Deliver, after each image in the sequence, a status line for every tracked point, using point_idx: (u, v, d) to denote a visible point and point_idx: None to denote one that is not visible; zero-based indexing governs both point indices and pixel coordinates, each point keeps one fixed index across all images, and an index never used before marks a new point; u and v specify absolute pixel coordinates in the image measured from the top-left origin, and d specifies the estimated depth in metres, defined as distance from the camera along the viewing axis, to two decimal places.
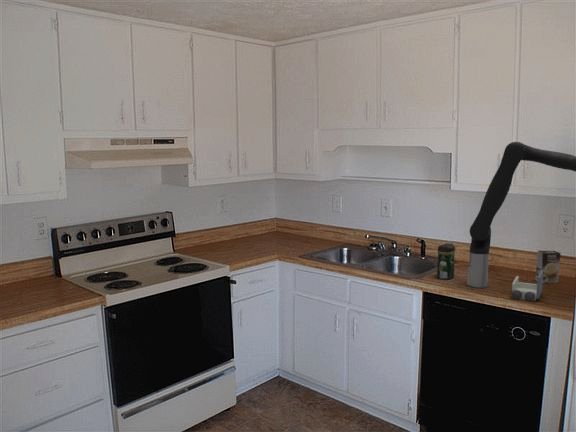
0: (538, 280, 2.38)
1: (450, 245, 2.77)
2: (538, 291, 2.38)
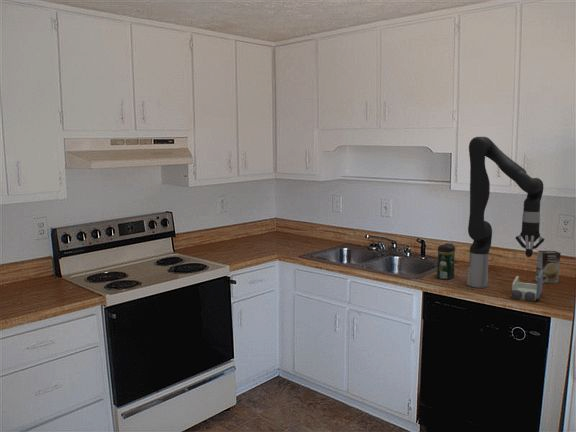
0: (538, 280, 2.38)
1: (450, 245, 2.77)
2: (538, 291, 2.38)
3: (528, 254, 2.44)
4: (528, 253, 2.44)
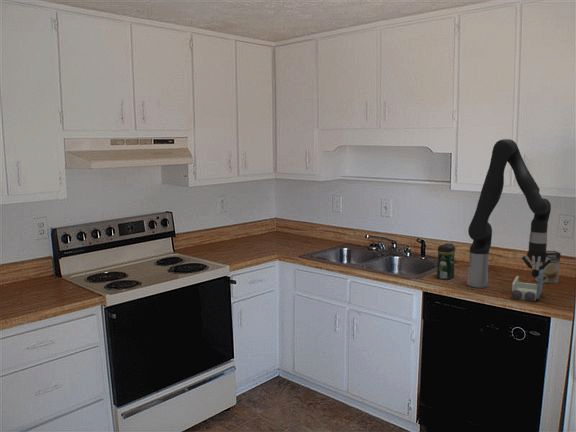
0: (538, 280, 2.37)
1: (450, 245, 2.77)
2: (538, 291, 2.38)
3: (534, 274, 2.44)
4: (534, 273, 2.44)
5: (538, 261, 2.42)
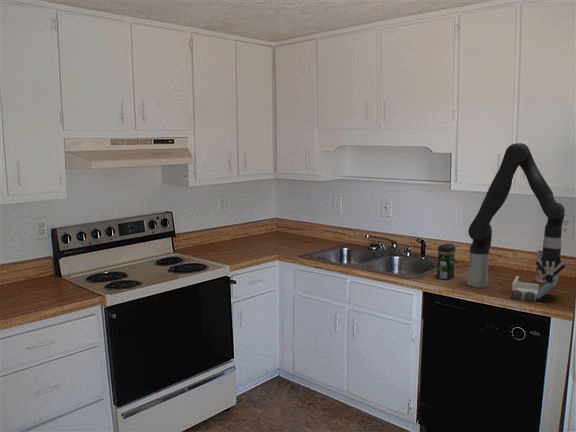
0: (551, 286, 2.35)
1: (450, 245, 2.77)
2: (543, 294, 2.37)
3: (548, 280, 2.41)
4: (548, 279, 2.41)
5: (552, 266, 2.39)
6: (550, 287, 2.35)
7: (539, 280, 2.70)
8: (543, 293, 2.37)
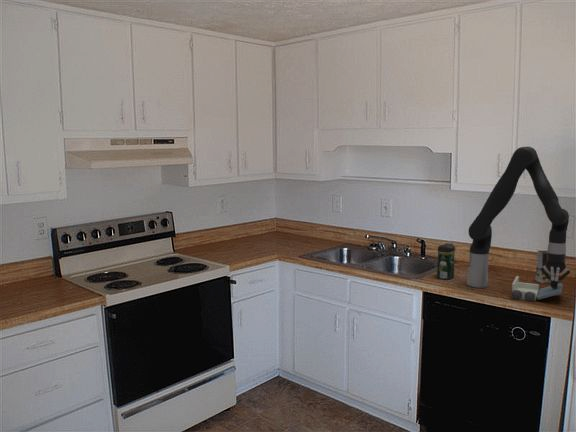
0: (556, 293, 2.34)
1: (450, 245, 2.77)
2: (545, 296, 2.37)
3: (553, 285, 2.41)
4: (553, 284, 2.41)
5: (557, 272, 2.39)
6: (555, 293, 2.35)
7: (539, 280, 2.70)
8: (545, 296, 2.37)
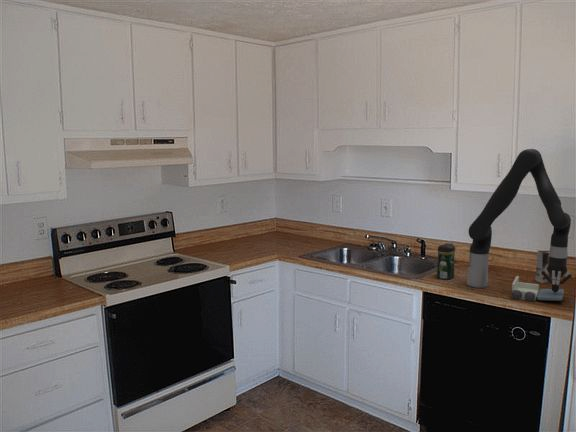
0: (558, 298, 2.34)
1: (450, 245, 2.77)
2: (545, 299, 2.37)
3: (554, 289, 2.41)
4: (554, 288, 2.41)
5: (558, 276, 2.39)
6: (556, 299, 2.35)
7: (539, 280, 2.70)
8: (546, 298, 2.37)
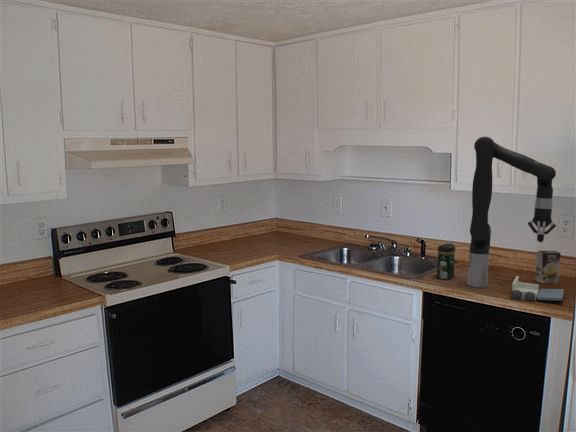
0: (558, 298, 2.34)
1: (450, 245, 2.77)
2: (545, 299, 2.37)
3: (539, 239, 2.53)
4: (539, 238, 2.53)
5: (543, 226, 2.51)
6: (556, 299, 2.35)
7: (539, 280, 2.70)
8: (546, 298, 2.37)
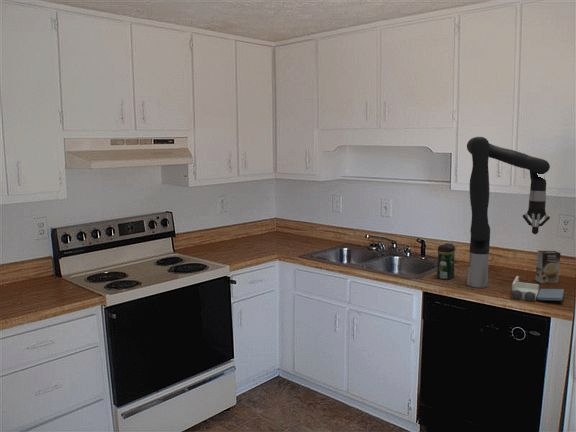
0: (558, 298, 2.34)
1: (450, 245, 2.77)
2: (545, 299, 2.37)
3: (534, 231, 2.58)
4: (534, 230, 2.58)
5: (538, 218, 2.56)
6: (556, 299, 2.35)
7: (539, 280, 2.70)
8: (546, 298, 2.37)
